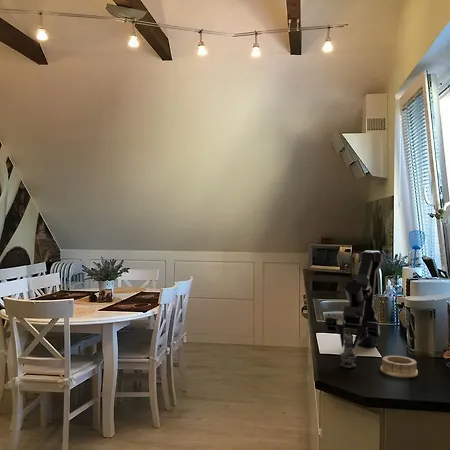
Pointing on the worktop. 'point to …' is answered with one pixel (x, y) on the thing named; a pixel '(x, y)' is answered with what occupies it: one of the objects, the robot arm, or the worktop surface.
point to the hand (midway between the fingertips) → (347, 347)
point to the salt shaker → (348, 352)
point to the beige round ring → (399, 366)
